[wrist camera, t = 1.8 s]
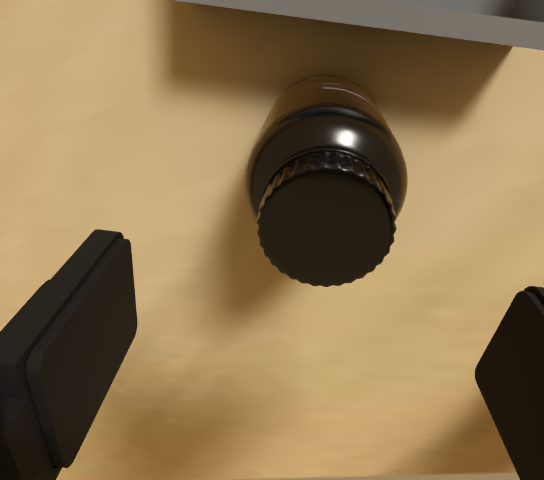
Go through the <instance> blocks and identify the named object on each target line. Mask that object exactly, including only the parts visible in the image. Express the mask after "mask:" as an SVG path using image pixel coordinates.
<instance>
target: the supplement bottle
mask: <svg viewBox="0 0 544 480" xmlns="http://www.w3.org/2000/svg"><path fill="white" fill-rule="evenodd" d="M406 191H407V169H406V164H405V160H404V157H403V154H402V151H401V149H400V147H399V144H398V143H397V141H396V139H395V137H394V135H393V134H392V132H391V130H390V128H389V127H388V125H387V123H386V121H385V120H384V118H383V116H382V114H381V112H380V111H379V109H378V107H377V106H376V104H375V102H374V101H373V100H372V98H371V97H370V96H369V95H368V94H367V93H366V92H365V91H364V90H363V89H362V88H361V87H359V86H358V85H356V84H355V83H353V82H351V81H349V80H346V79H343V78H340V77H335V76H317V77H312V78H308V79H305V80H303V81H301V82H298V83H297V84H295V85H293V86H292V87H290V88H289V89H288V90H287V91H286V92H284V93H283V94H282V95H281V97H280V98H279V99H278V100H277V101H276V103H275V104H274V106H273V108H272V109H271V111H270V113H269V115H268V117H267V120H266V122H265V124H264V126H263V128H262V130H261V132H260V135H259V137H258V139H257V141H256V143H255V145H254V148H253V150H252V152H251V155H250V157H249V161H248V164H247V168H246V174H245V194H246V199H247V203H248V206H249V209H250V212H251V214H252V216H253V218H254V220H255V221H256V223H257V224H258V229H257V234H258V236H259V237H260V245H261V247H262V248H263V249H264V254H265V256H267V257H268V258H269V259H270V261H271V264H272V265H274V266H276V267H277V268H278V269H279V271H280V272H281V273H284V274H287V275H288V276H289V277H290V278H291V279H295V280H298V281H299V282H301V283H308V284H310V285H312V286H319V285H321V286H324V287H329V286H332V285H335V286H340V285H342V284H344V283H352V282H353V281H354V280H356V279H360V278H363V277H364V276H365V275H366V274H367V273H369V272H372V271H373V270H374V269H375V267H376V266H377V265H379V264H380V263H382V261H383V259H384V257H385V256H386V255H387V254H388V253H389V251H390V246H391V244H392V243H393V242H394V233H395V231H396V224H395V220H396V219H397V217H398V215H399V213H400V211H401V209H402V207H403V204H404V201H405V197H406Z"/></svg>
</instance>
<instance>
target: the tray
mask: <svg viewBox="0 0 544 480" xmlns="http://www.w3.org/2000/svg"><path fill="white" fill-rule="evenodd" d="M174 1H181V2H188V3H196V4H203V5H211V6H218V7H226V8H233V9H241V10H248V11H256V12H263V13H270V14H278V15H285V16H293V17H300V18H308V19H315V20H323V21H330V22H338V23H345V24H352V25H360V26H367V27H375V28H382V29H390V30H397V31H405V32H412V33H420V34H427V35H434V36H442V37H449V38H457V39H464V40H472V41H479V42H487V43H494V44H502V45H509V46H516V47H524V48H531V49H539V50H544V0H174Z"/></svg>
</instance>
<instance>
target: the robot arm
mask: <svg viewBox="0 0 544 480" xmlns="http://www.w3.org/2000/svg"><path fill="white" fill-rule="evenodd" d="M136 330H137V312H136V300H135V289H134V277H133V265H132V253H131V243H130V241H129V240H128V239H124V237H123V235H122V233H121V232H114V231H107V230H99V229H97V230H94V231H93V232H92V233H91V234H90V236H89V237H88V238H87V239H86V240H85V241H84V242H83V244H82V245H81V246H80V247H79V248H78V249H77V250H76V251H75V253H74V254H73V255H72V256H71V257H70V258H69V259H68V260H67V262H66V263H65V264H64V265H63V266H62V267H61V268H60V270H59V271H58V272H57V273H56V274H55V275H54V276H53V277H52V279H51V280H47V281H46V282H45V283H44V284H43V285H42V286H41V287H40V288H39V289H38V290H37V291H36V292H35V294H34V295H33V296H32V297H31V298H30V299H29V300H28V301H27V302H26V304H25V305H24V306H23V307H22V308H21V309H20V310H19V311H18V313H17V314H16V315H15V316H14V317H13V318H12V319H11V320H10V321H9V323H8V324H7V325H6V326H5V327H4V328H3V329H2V330H1V331H0V480H56V478H57V476H58V474H59V473H60V471H61V469H62V467H64V468H68V467H69V466H70V465H71V464H72V463H73V461H74V459H75V457H76V455H77V453H78V451H79V449H80V447H81V445H82V443H83V441H84V439H85V437H86V435H87V433H88V431H89V429H90V427H91V425H92V423H93V421H94V419H95V416H96V414H97V412H98V410H99V408H100V406H101V404H102V402H103V400H104V398H105V396H106V394H107V392H108V390H109V388H110V386H111V384H112V382H113V380H114V378H115V376H116V374H117V372H118V370H119V368H120V366H121V364H122V361H123V359H124V357H125V355H126V353H127V351H128V349H129V347H130V345H131V343H132V341H133V339H134V337H135V334H136ZM475 379H476V382H477V385H478V387H479V389H480V391H481V394H482V396H483V398H484V400H485V403H486V405H487V407H488V409H489V411H490V414H491V416H492V418H493V420H494V423H495V425H496V427H497V429H498V431H499V434H500V436H501V438H502V440H503V443H504V445H505V447H506V449H507V451H508V454H509V456H510V458H511V460H512V463H513V465H514V467H515V469H516V472H517V474H518V476H519V478H520V480H544V288H542V287H535V286H530V287H527V288H526V289H524V291H520V292H518V293H517V294H516V296H515V298H514V299H513V301H512V303H511V305H510V307H509V308H508V310H507V312H506V314H505V316H504V317H503V319H502V321H501V323H500V325H499V326H498V328H497V330H496V332H495V334H494V335H493V337H492V339H491V341H490V343H489V344H488V346H487V348H486V350H485V352H484V353H483V355H482V357H481V359H480V361H479V362H478V364H477V366H476V369H475Z"/></svg>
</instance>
